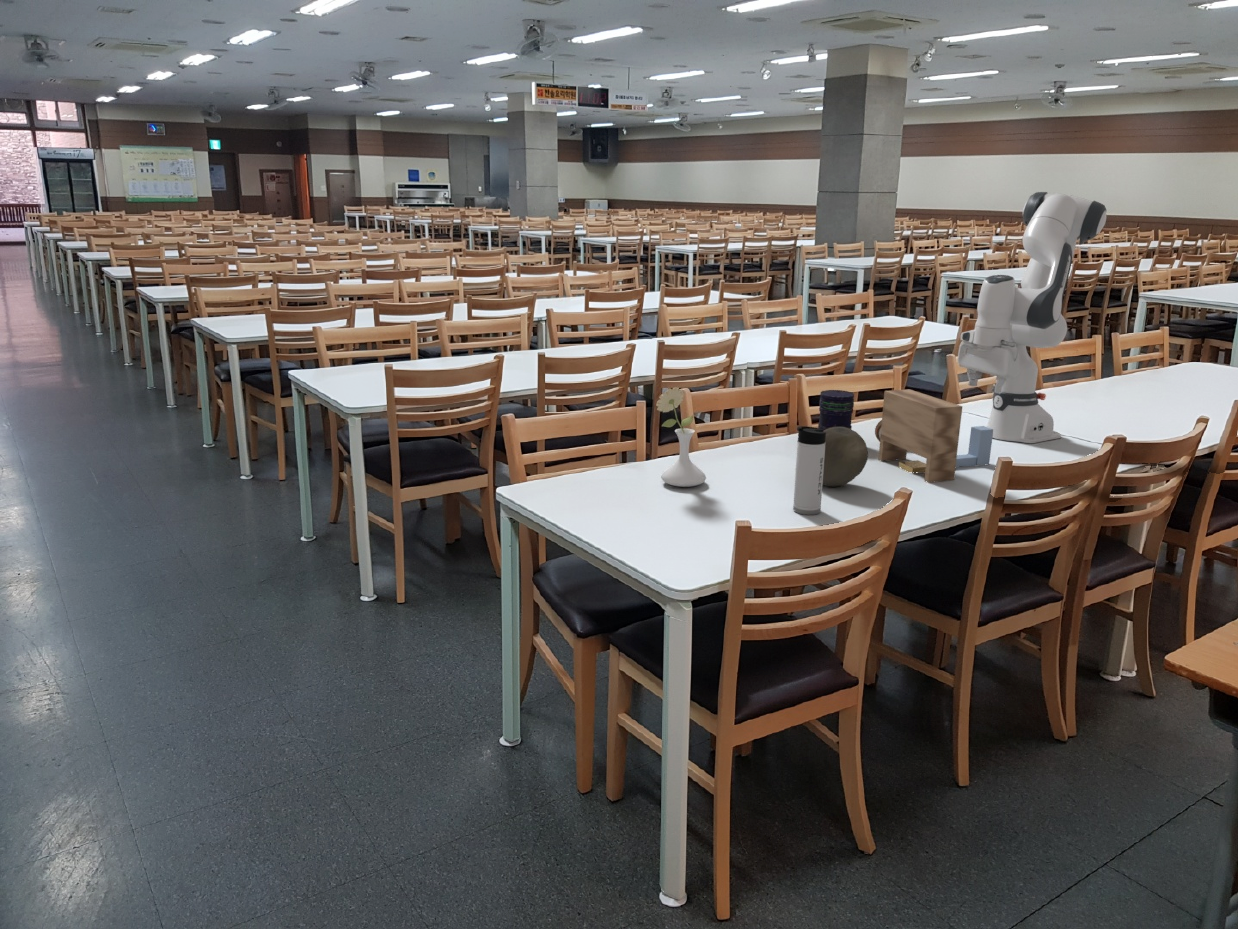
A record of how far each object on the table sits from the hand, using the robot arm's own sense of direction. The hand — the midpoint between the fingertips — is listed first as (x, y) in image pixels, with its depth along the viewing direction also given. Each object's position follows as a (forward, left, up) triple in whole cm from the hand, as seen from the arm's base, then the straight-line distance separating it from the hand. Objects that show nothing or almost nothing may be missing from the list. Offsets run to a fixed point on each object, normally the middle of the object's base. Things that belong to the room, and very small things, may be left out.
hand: (984, 389), depth 249 cm
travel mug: (+65, +22, -21) cm, 72 cm away
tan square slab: (+20, +1, -21) cm, 29 cm away
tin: (+9, -21, -21) cm, 31 cm away
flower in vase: (+85, -6, -21) cm, 88 cm away
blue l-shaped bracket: (+5, +1, -21) cm, 21 cm away
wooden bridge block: (+20, +1, -21) cm, 29 cm away
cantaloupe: (+48, +7, -21) cm, 53 cm away
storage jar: (+26, -30, -21) cm, 45 cm away
